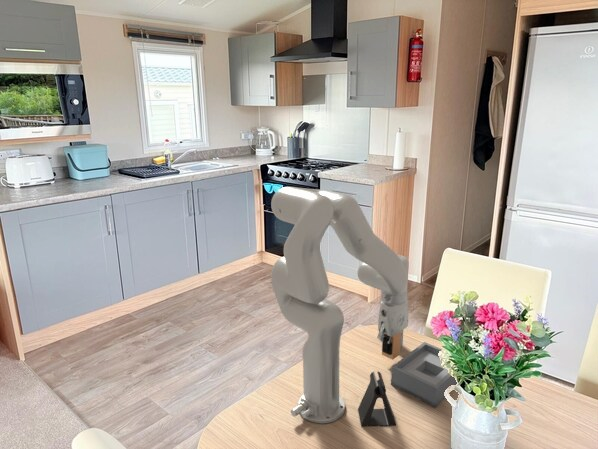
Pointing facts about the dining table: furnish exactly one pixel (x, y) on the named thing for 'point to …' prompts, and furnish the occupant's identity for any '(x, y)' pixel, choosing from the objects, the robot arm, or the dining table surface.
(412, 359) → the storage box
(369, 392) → the black triangular stand
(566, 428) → the dining table surface
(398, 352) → the peg
